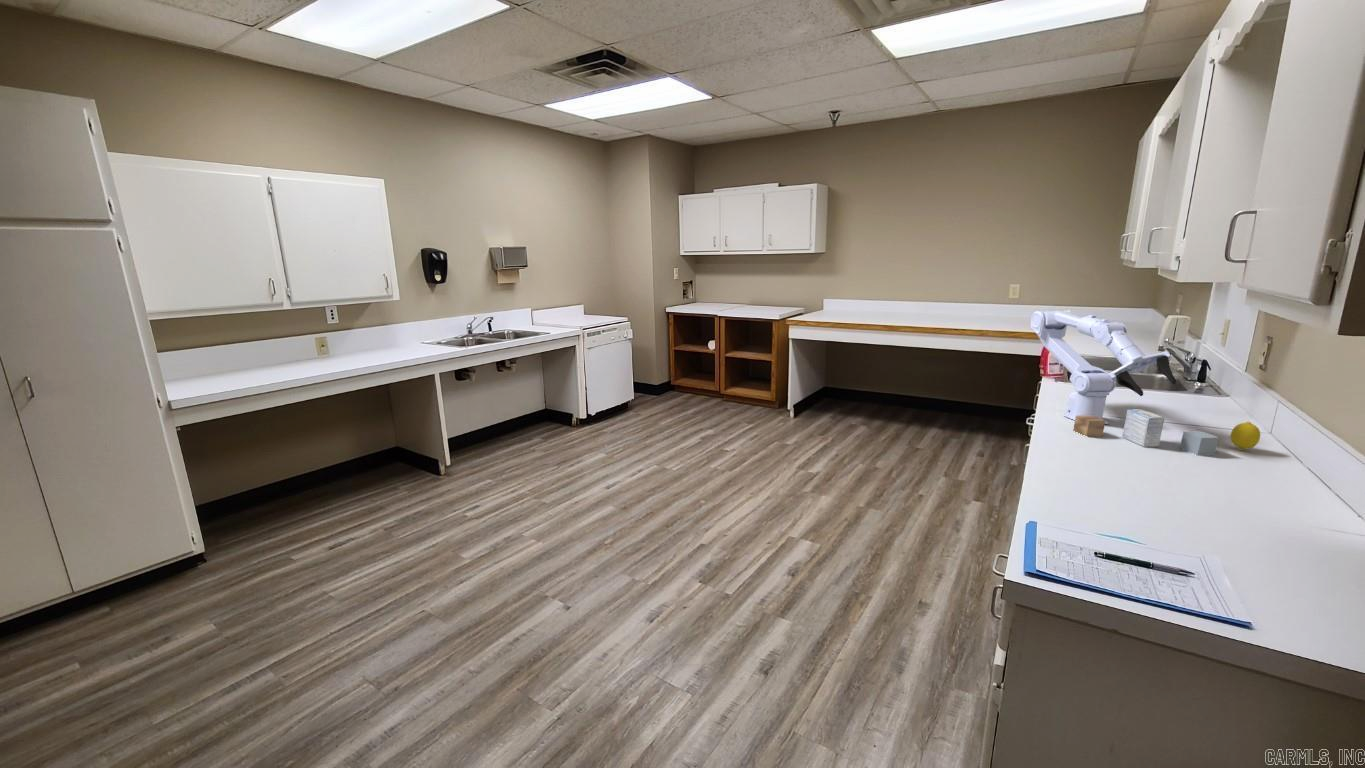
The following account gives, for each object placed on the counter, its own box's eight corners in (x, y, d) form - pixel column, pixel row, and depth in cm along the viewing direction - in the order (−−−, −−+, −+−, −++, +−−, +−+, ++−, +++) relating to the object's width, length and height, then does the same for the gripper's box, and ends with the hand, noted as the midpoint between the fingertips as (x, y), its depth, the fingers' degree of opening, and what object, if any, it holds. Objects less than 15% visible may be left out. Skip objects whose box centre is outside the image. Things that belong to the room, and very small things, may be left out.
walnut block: (1073, 431, 165) (1075, 415, 164) (1088, 430, 165) (1091, 415, 164) (1086, 437, 160) (1089, 420, 159) (1102, 436, 160) (1105, 420, 159)
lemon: (1243, 446, 152) (1250, 419, 150) (1261, 454, 146) (1269, 425, 144) (1221, 446, 152) (1228, 418, 150) (1239, 453, 147) (1246, 425, 145)
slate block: (1179, 448, 151) (1183, 431, 149) (1196, 448, 151) (1200, 431, 150) (1197, 455, 146) (1201, 438, 144) (1214, 455, 146) (1219, 437, 145)
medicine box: (1159, 447, 152) (1165, 417, 149) (1142, 447, 152) (1149, 417, 149) (1136, 437, 159) (1142, 409, 157) (1121, 437, 159) (1127, 409, 157)
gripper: (1098, 356, 159) (1126, 391, 150) (1156, 333, 153) (1189, 368, 144) (1100, 369, 163) (1128, 404, 154) (1156, 348, 158) (1189, 382, 149)
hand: (1157, 388), depth 149 cm, fingers open, 7 cm apart
